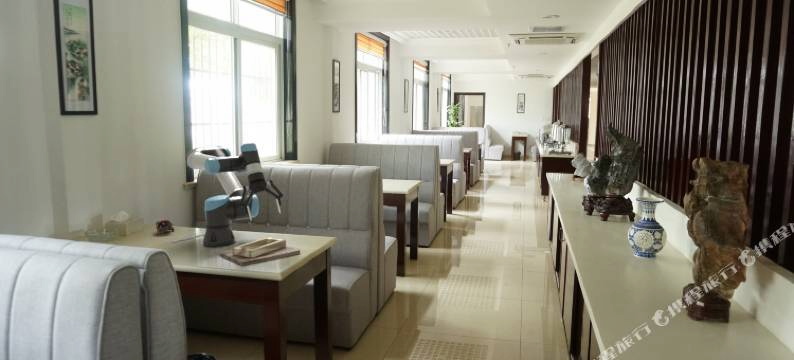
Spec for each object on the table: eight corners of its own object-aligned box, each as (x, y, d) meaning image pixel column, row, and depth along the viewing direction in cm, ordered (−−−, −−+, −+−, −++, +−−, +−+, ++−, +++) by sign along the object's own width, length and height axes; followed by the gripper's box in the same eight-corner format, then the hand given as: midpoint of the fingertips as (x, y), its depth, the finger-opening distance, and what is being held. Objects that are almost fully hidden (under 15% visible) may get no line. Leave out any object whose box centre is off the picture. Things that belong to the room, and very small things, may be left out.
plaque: (204, 231, 303) (204, 230, 303) (216, 233, 298) (216, 232, 297) (150, 244, 275) (150, 243, 275) (162, 246, 270) (162, 245, 270)
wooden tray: (232, 254, 245) (232, 247, 244) (266, 243, 264) (266, 236, 263) (252, 257, 239) (252, 250, 239) (286, 245, 258) (285, 238, 258)
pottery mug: (179, 232, 302) (175, 221, 297) (166, 243, 295) (162, 232, 290) (163, 225, 306) (159, 214, 301) (150, 235, 300) (146, 224, 295)
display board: (219, 255, 251) (219, 251, 251) (274, 244, 269) (274, 240, 269) (242, 266, 233) (242, 262, 233) (300, 253, 251) (300, 250, 251)
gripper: (227, 177, 256) (238, 221, 251) (281, 166, 263) (292, 208, 258) (229, 182, 263) (239, 224, 258) (280, 170, 270) (291, 211, 265)
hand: (265, 216), depth 258 cm, fingers open, 13 cm apart
